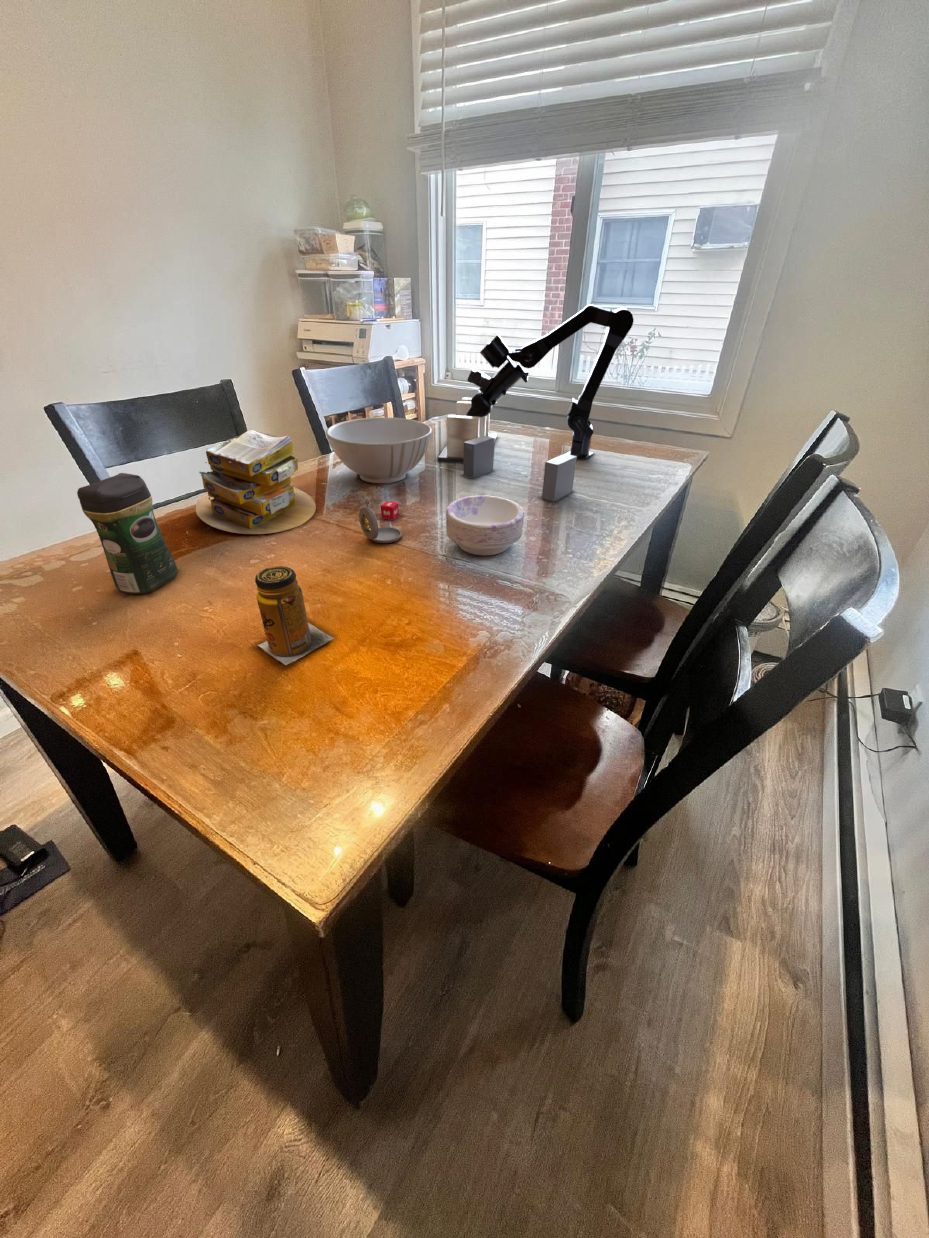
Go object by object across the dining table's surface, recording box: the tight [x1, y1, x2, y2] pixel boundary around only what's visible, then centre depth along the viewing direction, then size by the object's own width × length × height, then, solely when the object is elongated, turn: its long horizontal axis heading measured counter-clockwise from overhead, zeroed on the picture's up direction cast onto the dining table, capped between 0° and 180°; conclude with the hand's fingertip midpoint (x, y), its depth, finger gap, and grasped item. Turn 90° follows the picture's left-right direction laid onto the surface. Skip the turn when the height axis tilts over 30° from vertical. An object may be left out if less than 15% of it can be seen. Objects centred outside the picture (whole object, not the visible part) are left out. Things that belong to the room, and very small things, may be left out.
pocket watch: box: [358, 494, 402, 544], centre depth 104 cm, size 8×8×10 cm
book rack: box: [437, 397, 498, 464], centre depth 158 cm, size 14×30×12 cm, turn 171°
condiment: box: [254, 565, 335, 666], centre depth 73 cm, size 7×8×12 cm
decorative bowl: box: [325, 416, 433, 484], centre depth 136 cm, size 27×27×12 cm
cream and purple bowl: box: [445, 494, 525, 557], centre depth 102 cm, size 15×15×8 cm
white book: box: [455, 400, 487, 437], centre depth 158 cm, size 9×4×12 cm, turn 83°
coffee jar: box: [76, 472, 179, 595], centre depth 85 cm, size 10×8×19 cm
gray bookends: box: [462, 436, 578, 502], centre depth 133 cm, size 9×28×9 cm, turn 51°
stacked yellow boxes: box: [195, 429, 317, 535], centre depth 112 cm, size 25×25×17 cm
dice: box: [379, 500, 400, 521], centre depth 115 cm, size 3×3×3 cm
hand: (465, 418), depth 157 cm, fingers open, 8 cm apart
